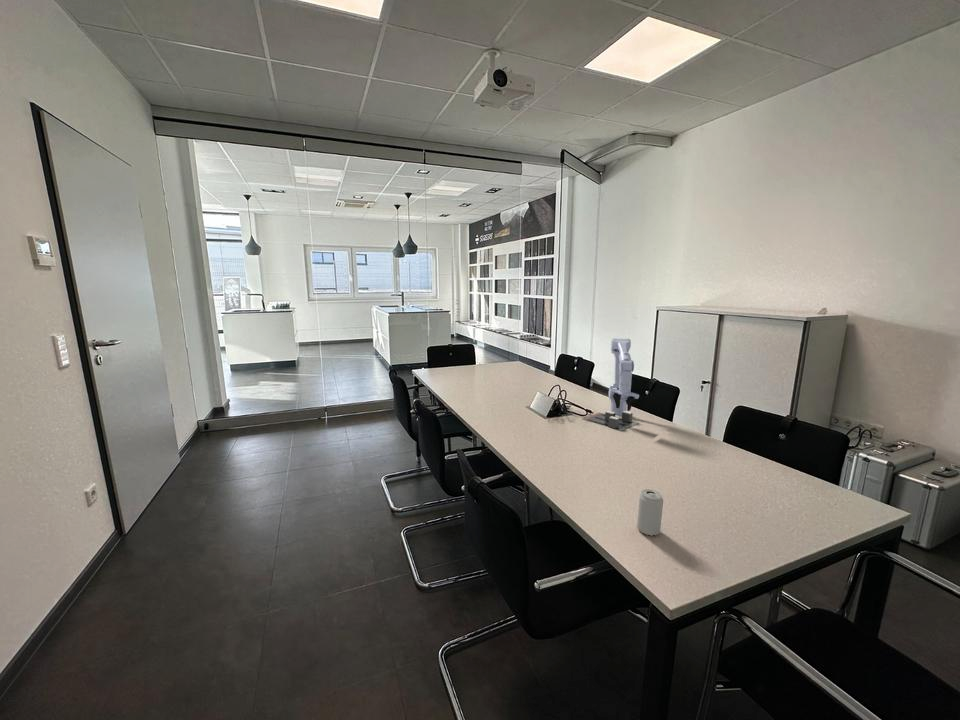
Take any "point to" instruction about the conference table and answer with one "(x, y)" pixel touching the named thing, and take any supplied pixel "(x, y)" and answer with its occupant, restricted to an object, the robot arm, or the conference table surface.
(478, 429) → the conference table surface
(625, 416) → the breaker
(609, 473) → the conference table surface
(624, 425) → the panel
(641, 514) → the beverage can
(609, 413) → the breaker
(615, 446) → the conference table surface
